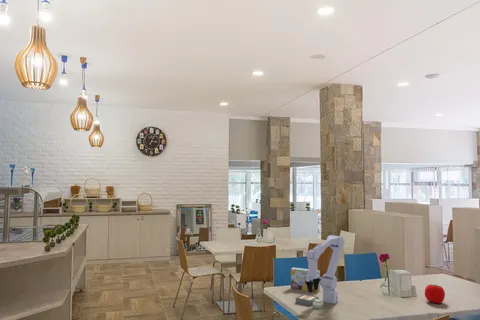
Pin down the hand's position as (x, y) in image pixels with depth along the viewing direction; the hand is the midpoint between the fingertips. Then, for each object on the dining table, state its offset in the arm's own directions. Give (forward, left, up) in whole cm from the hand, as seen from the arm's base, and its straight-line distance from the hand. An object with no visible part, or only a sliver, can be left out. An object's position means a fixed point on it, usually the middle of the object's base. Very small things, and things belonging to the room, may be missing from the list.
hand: (313, 291), depth 255 cm
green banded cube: (-4, +1, -10) cm, 11 cm away
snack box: (+23, -35, -10) cm, 44 cm away
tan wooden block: (+6, -4, -9) cm, 12 cm away
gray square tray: (+6, -4, -10) cm, 13 cm away
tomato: (-60, -59, -10) cm, 85 cm away
